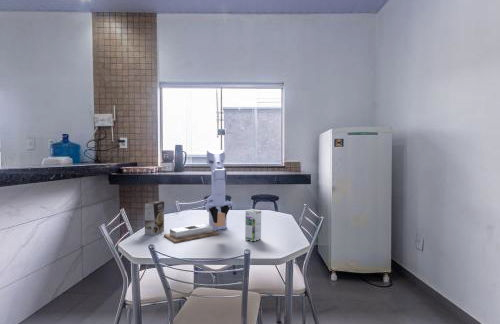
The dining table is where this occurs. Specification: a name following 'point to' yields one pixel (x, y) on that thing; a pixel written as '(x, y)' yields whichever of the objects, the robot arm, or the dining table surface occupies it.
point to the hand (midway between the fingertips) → (219, 221)
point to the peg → (220, 219)
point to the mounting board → (190, 237)
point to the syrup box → (253, 225)
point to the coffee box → (154, 217)
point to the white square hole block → (191, 230)
